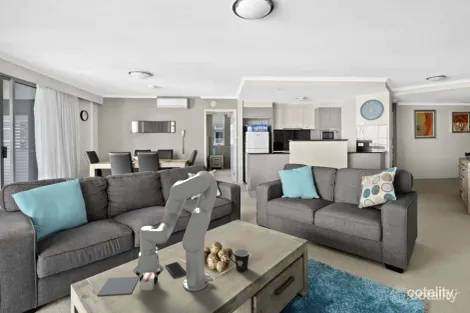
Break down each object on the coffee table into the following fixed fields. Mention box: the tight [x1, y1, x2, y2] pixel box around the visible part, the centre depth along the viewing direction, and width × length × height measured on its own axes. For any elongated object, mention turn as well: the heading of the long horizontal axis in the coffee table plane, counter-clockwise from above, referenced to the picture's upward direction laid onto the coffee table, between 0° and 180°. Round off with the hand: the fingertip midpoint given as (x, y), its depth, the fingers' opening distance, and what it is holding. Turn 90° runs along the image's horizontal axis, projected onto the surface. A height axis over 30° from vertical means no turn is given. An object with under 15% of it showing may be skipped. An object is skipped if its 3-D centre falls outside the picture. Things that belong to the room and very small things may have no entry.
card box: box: [139, 273, 155, 291], centre depth 129 cm, size 6×9×4 cm, turn 2°
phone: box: [164, 261, 186, 279], centre depth 143 cm, size 8×1×15 cm
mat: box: [97, 276, 140, 297], centre depth 128 cm, size 16×14×1 cm
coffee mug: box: [228, 248, 250, 273], centre depth 145 cm, size 12×9×10 cm
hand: (148, 283), depth 130 cm, fingers closed on card box, 6 cm apart
